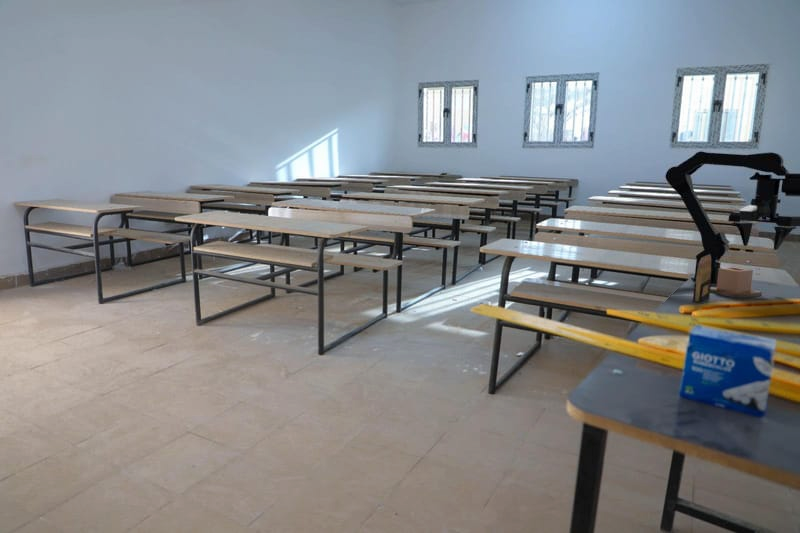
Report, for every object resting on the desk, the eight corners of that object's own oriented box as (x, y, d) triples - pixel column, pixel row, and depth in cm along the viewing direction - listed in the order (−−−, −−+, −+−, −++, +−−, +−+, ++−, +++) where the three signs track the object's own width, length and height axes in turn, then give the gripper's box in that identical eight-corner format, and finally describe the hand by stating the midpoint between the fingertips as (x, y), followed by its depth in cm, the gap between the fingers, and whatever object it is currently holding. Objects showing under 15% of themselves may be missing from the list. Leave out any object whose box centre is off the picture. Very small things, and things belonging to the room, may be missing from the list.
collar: (716, 288, 159) (718, 268, 158) (730, 286, 161) (732, 266, 160) (736, 292, 153) (738, 271, 152) (750, 291, 156) (752, 270, 155)
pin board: (705, 291, 160) (706, 274, 159) (728, 288, 164) (730, 272, 163) (737, 298, 151) (740, 280, 150) (761, 295, 155) (763, 278, 154)
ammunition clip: (700, 302, 145) (705, 258, 143) (692, 301, 146) (697, 257, 144) (709, 296, 153) (714, 253, 151) (702, 295, 154) (706, 253, 152)
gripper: (719, 194, 168) (713, 244, 170) (781, 197, 151) (774, 253, 153) (743, 194, 172) (737, 243, 175) (806, 197, 155) (799, 251, 158)
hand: (760, 247), depth 165 cm, fingers open, 9 cm apart
